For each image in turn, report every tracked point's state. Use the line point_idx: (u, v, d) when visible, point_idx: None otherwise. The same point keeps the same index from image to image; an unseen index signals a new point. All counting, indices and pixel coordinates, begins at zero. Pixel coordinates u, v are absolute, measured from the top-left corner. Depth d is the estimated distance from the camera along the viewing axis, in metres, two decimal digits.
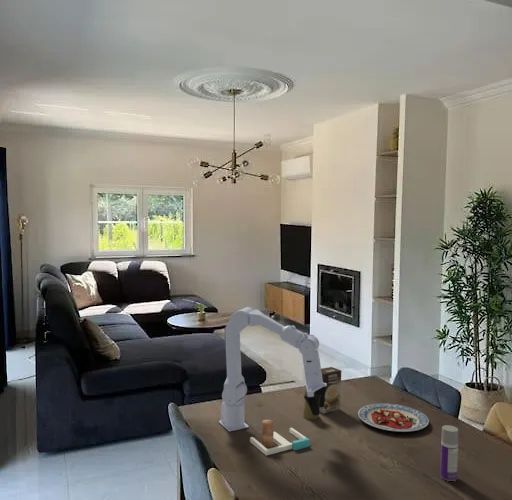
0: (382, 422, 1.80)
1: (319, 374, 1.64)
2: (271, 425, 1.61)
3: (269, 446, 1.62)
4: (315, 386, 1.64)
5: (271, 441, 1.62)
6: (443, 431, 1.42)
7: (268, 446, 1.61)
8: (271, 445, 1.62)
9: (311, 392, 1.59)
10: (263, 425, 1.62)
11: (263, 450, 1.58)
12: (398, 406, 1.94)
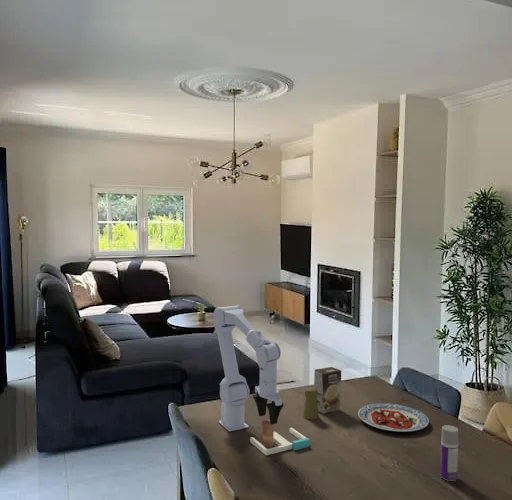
0: (382, 422, 1.80)
1: None
2: (271, 425, 1.61)
3: (269, 446, 1.62)
4: (274, 394, 1.60)
5: (271, 441, 1.62)
6: (443, 431, 1.42)
7: (268, 446, 1.61)
8: (271, 445, 1.62)
9: (280, 400, 1.56)
10: (263, 425, 1.62)
11: (263, 450, 1.58)
12: (398, 406, 1.94)
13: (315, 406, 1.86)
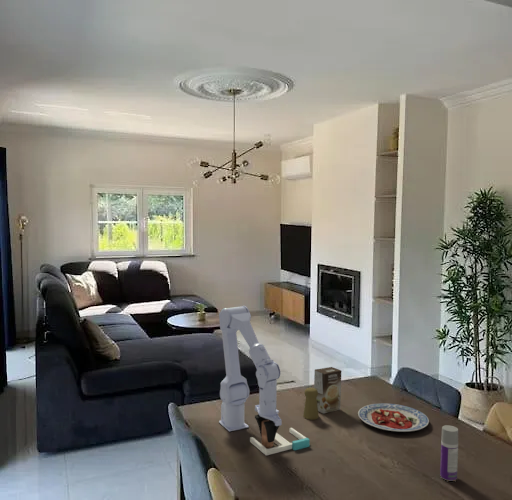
0: (382, 422, 1.80)
1: None
2: None
3: (269, 446, 1.62)
4: (274, 414, 1.61)
5: None
6: (443, 431, 1.42)
7: (268, 446, 1.61)
8: (271, 445, 1.62)
9: (280, 421, 1.57)
10: (263, 425, 1.62)
11: (263, 450, 1.58)
12: (398, 406, 1.94)
13: (315, 406, 1.86)
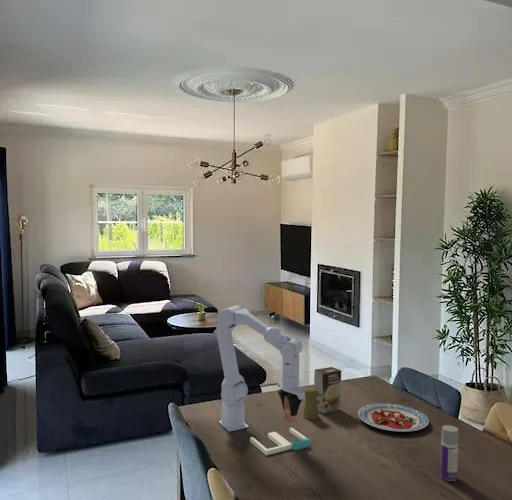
0: (382, 422, 1.80)
1: None
2: None
3: (292, 420, 1.65)
4: (297, 388, 1.65)
5: None
6: (443, 431, 1.42)
7: (291, 420, 1.65)
8: (294, 419, 1.66)
9: (303, 394, 1.61)
10: (286, 399, 1.65)
11: (263, 450, 1.58)
12: (398, 406, 1.94)
13: (315, 406, 1.86)
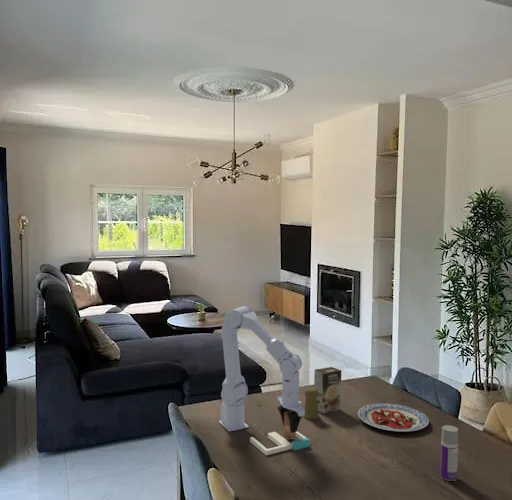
0: (382, 422, 1.80)
1: (298, 392, 1.67)
2: None
3: (292, 436, 1.66)
4: (297, 405, 1.65)
5: None
6: (443, 431, 1.42)
7: (291, 436, 1.66)
8: (294, 435, 1.66)
9: (303, 411, 1.61)
10: (286, 416, 1.66)
11: (263, 450, 1.58)
12: (398, 406, 1.94)
13: (315, 406, 1.86)
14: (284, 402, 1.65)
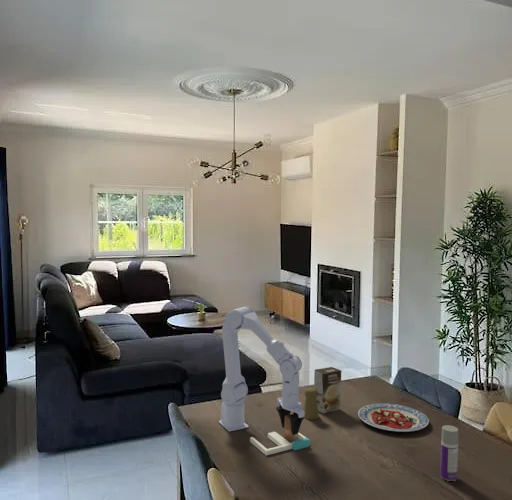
0: (382, 422, 1.80)
1: (298, 394, 1.67)
2: None
3: (292, 440, 1.66)
4: (297, 406, 1.65)
5: (294, 435, 1.66)
6: (443, 431, 1.42)
7: (291, 440, 1.66)
8: (294, 439, 1.66)
9: (303, 412, 1.61)
10: (286, 420, 1.66)
11: (263, 450, 1.58)
12: (398, 406, 1.94)
13: (315, 406, 1.86)
14: (284, 403, 1.65)
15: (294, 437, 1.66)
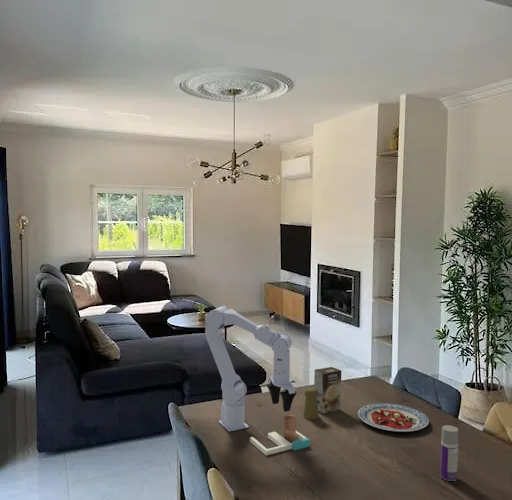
0: (382, 422, 1.80)
1: None
2: (294, 420, 1.66)
3: (292, 440, 1.66)
4: (287, 383, 1.70)
5: (294, 435, 1.66)
6: (443, 431, 1.42)
7: (291, 440, 1.66)
8: (294, 439, 1.66)
9: (293, 389, 1.66)
10: (286, 420, 1.66)
11: (263, 450, 1.58)
12: (398, 406, 1.94)
13: (315, 406, 1.86)
14: (275, 380, 1.70)
15: (294, 437, 1.66)
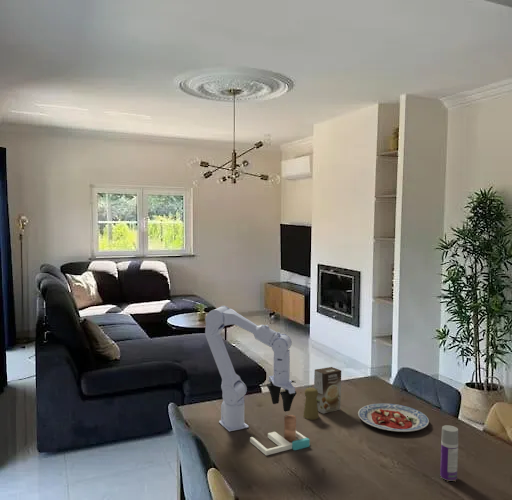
0: (382, 422, 1.80)
1: None
2: (294, 420, 1.66)
3: (292, 440, 1.66)
4: (287, 383, 1.70)
5: (294, 435, 1.66)
6: (443, 431, 1.42)
7: (291, 440, 1.66)
8: (294, 439, 1.66)
9: (293, 389, 1.66)
10: (286, 420, 1.66)
11: (263, 450, 1.58)
12: (398, 406, 1.94)
13: (315, 406, 1.86)
14: (275, 380, 1.70)
15: (294, 437, 1.66)
